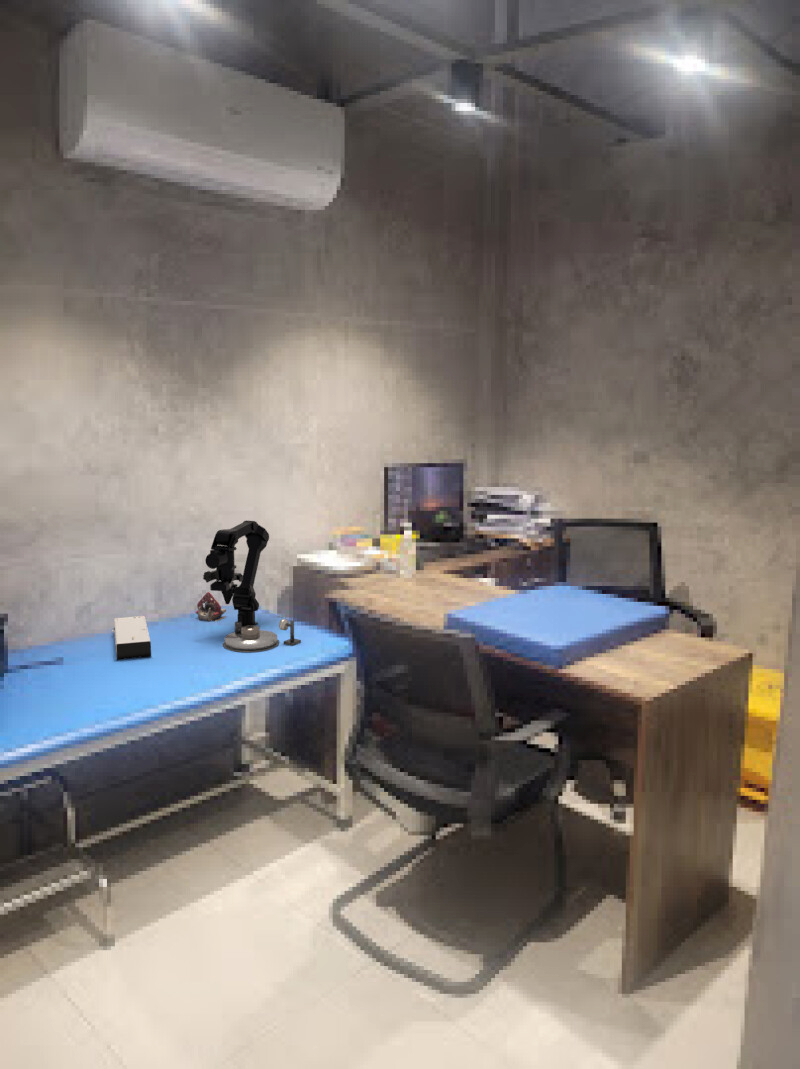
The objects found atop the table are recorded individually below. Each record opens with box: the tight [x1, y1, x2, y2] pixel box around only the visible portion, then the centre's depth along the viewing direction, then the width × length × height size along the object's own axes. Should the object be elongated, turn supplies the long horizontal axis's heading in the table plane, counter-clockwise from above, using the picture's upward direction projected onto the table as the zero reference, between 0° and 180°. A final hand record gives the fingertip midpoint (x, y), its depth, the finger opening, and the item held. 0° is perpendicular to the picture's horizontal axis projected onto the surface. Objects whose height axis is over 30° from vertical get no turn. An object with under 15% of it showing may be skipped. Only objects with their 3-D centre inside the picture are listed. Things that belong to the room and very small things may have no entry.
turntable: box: [224, 620, 278, 651], centre depth 300 cm, size 19×19×6 cm
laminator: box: [111, 615, 152, 661], centre depth 297 cm, size 34×12×6 cm, turn 20°
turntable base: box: [222, 638, 280, 654], centre depth 300 cm, size 20×20×1 cm
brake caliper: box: [195, 591, 227, 622], centre depth 333 cm, size 11×11×12 cm
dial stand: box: [278, 618, 302, 647], centre depth 301 cm, size 6×5×9 cm
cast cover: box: [241, 624, 261, 640], centre depth 299 cm, size 7×7×4 cm
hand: (227, 604), depth 309 cm, fingers closed
